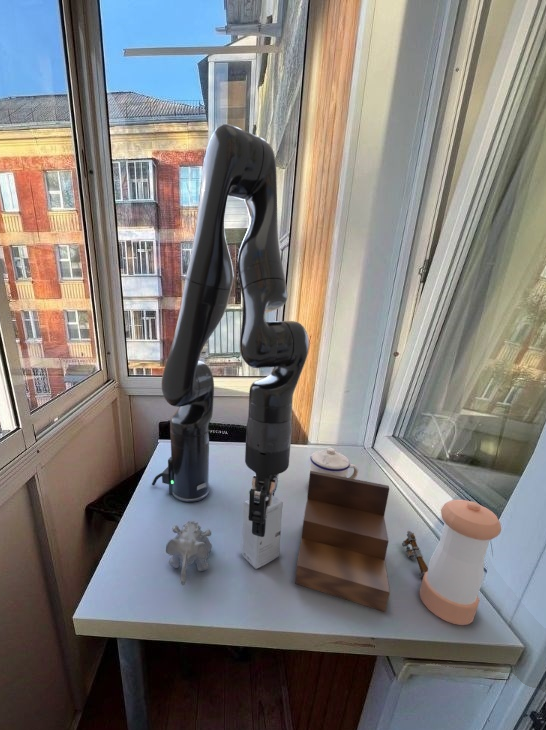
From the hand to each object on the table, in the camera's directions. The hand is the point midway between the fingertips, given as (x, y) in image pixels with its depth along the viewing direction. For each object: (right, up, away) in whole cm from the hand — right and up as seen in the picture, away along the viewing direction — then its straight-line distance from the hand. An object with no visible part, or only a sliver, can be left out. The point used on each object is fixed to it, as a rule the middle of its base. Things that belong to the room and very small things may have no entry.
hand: (263, 520), depth 62 cm
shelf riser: (+14, -8, 0) cm, 16 cm away
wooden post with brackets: (+28, -8, 0) cm, 29 cm away
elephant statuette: (-13, -9, -1) cm, 16 cm away
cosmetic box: (0, -8, +2) cm, 8 cm away
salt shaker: (+28, -11, -7) cm, 31 cm away
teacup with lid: (+22, -1, +23) cm, 31 cm away
